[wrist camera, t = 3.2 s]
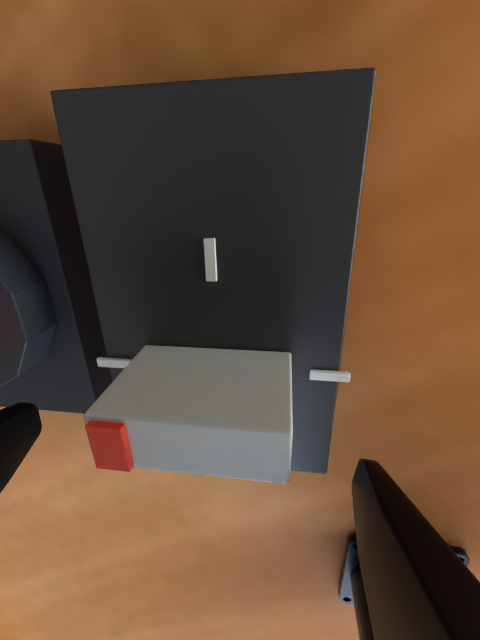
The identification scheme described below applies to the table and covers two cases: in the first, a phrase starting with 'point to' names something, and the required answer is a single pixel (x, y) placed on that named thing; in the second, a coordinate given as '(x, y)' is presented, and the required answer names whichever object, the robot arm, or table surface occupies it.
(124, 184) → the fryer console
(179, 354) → the grey block red tip
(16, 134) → the table surface
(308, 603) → the table surface
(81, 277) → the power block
